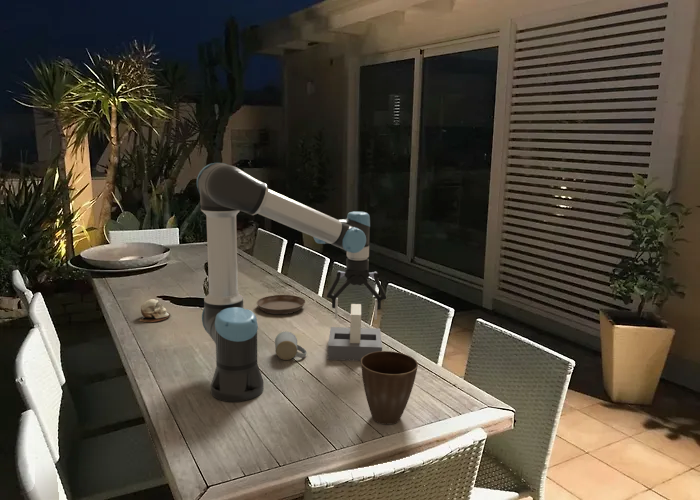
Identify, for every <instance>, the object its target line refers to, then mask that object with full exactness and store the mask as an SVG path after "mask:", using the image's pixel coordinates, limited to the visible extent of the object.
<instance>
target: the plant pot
mask: <svg viewBox="0 0 700 500" xmlns="http://www.w3.org/2000/svg"><path fill="white" fill-rule="evenodd" d="M418 364H419V363H418V361H417V360H416V359H415V358H414V357H412V356H411V355H408V354H406V353H403V352H397V351H392V350H382V351H378V352H372V353H369V354H367V355H365V356H363V357H362V359H361V361H360V367H361V375H362V377H361V378H362V382H363V387H364V388H363V389H364V393H365V398H366V402H367V405H368V408H369V411H370V415H371V417H372V419H373V420H374V422H376V423H379V424H381V425H394V424H397V423H398V422H399V421H400V419H401V418H402V416H403V414H404V411H405V409H406V407H407V405H408V402H409V399H410V396H411V393H412V391H413V387H414V385H415V380H416V376H417V373H418V367H419V365H418Z"/></svg>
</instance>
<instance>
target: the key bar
mask: <svg viewBox="0 0 700 500" xmlns="http://www.w3.org/2000/svg"><path fill="white" fill-rule="evenodd" d="M349 328H350V343H360V336H361V328H362V303H350V327H349Z"/></svg>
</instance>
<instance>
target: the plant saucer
mask: <svg viewBox="0 0 700 500" xmlns="http://www.w3.org/2000/svg"><path fill="white" fill-rule="evenodd" d="M305 304H306V300H305V299H304V298H303V297H301V296H297V295H292V294H291V295H290V294H276V295H274V294H273V295H268V296H264V297H262V298H259V299H258V300H257V301H256V305H257V306H258V307H259V309H260V310H262V311H263V312H264V313H268V314H271V315H288V313H289V314H292V313H293V312H294V313H296V312H298V311H300V310H301V309H302V308H303V307H304V305H305ZM294 313H293V314H294Z"/></svg>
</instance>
